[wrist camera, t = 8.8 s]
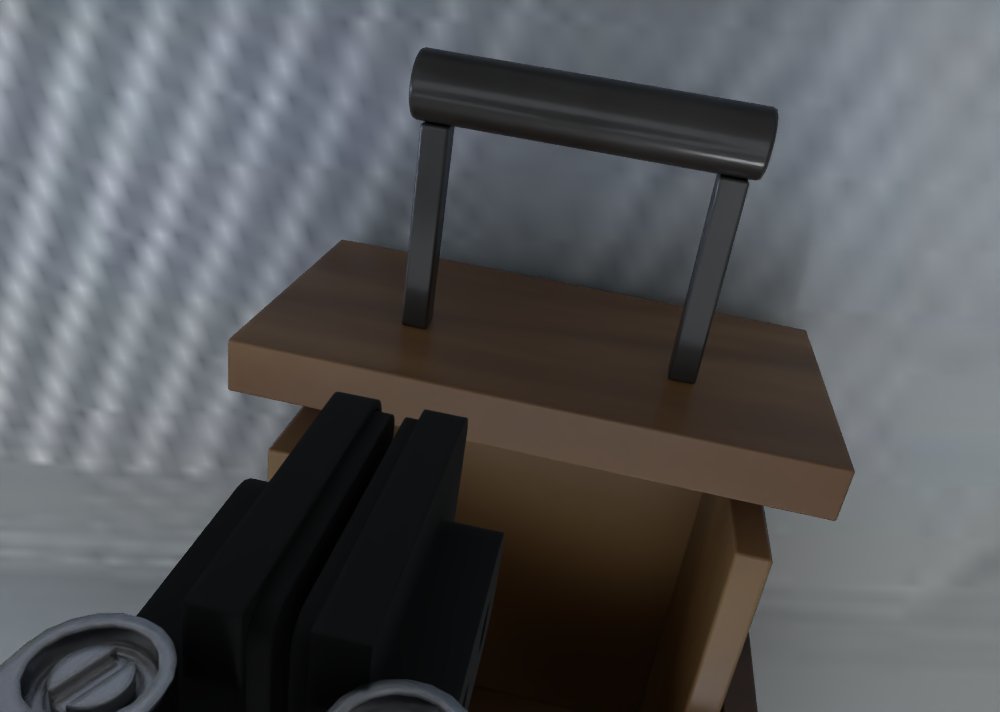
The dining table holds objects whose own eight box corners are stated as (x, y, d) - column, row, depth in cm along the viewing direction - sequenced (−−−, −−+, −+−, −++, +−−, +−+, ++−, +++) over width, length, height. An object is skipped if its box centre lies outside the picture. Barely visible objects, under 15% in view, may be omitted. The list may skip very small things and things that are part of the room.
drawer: (356, 9, 21) (227, 35, 15) (881, 98, 20) (973, 165, 14) (317, 637, 30) (226, 811, 24) (678, 724, 29) (680, 933, 23)
